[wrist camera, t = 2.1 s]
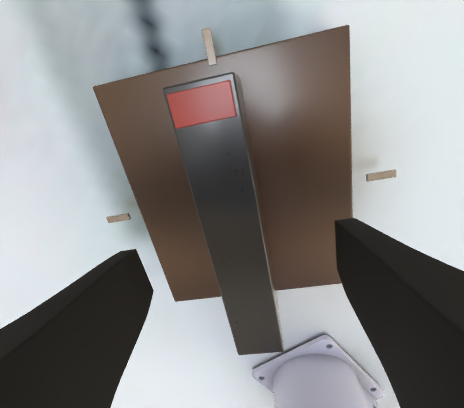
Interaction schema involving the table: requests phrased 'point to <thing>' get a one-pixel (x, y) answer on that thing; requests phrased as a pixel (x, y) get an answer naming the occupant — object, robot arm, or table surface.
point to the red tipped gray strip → (228, 204)
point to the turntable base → (264, 151)
